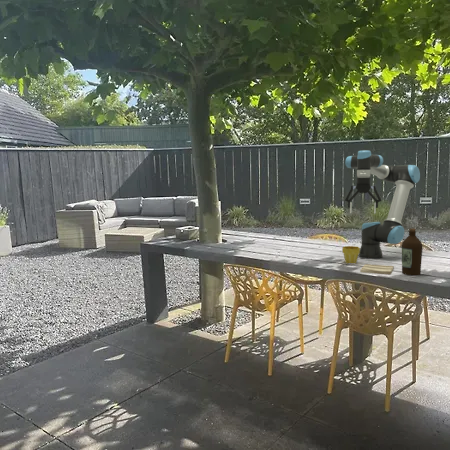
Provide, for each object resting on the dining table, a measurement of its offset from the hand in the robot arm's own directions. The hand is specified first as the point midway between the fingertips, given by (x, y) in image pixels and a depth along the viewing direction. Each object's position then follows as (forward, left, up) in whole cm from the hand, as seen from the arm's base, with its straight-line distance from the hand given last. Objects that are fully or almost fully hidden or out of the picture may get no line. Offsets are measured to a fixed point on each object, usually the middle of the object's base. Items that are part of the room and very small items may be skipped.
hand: (362, 213), depth 253 cm
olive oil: (+10, +28, -32) cm, 44 cm away
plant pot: (-8, -8, -32) cm, 34 cm away
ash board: (+8, +10, -32) cm, 34 cm away
